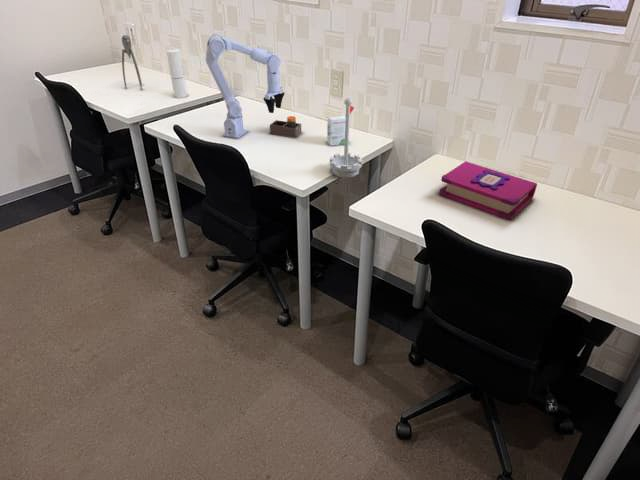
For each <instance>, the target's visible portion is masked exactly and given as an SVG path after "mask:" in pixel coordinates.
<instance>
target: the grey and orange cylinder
mask: <svg viewBox="0 0 640 480" xmlns="http://www.w3.org/2000/svg"><path fill="white" fill-rule="evenodd" d="M296 119H297V117H296V116H295V115H294V116H293V115H290V116H289V115H288V116H287V118H286V122H287V127H291V128H295V127H296V123H297V120H296Z"/></svg>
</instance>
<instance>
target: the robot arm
mask: <svg viewBox="0 0 640 480" xmlns="http://www.w3.org/2000/svg"><path fill="white" fill-rule="evenodd" d="M231 50H233V51H236V52H239V53H242V54H245V55H247V56H249V58H250V60H252V61H254V62H257V63H259V64H262V65H266V80H267V82H266V83H267V91H266V93H265V95H264V97H263V101H264V103H265V104H266V107H267V111H268V113H269V114H274V111H275V108H276V109H281V107H282V103H283V100H284V99H283V98H284V96H285V92H283V88H284V87H283V86H281V80H280V78H281V76H280V65H281V60H280V57H278V55H277V54H276V53H274V52H273V51H270V50H265V49H263V48H262V47H261V46H259V45H257V46H252V47H250V46H248V45H245V44H244V43H242V42H239V41H236V40H234V39H232V38H230V37H227V36H224V35H220V34H218V33H214V34H212V35H210V36H209V38H208V40H207V42H206V50H205V63H206V65H207V67H208V69H209V71H210V73H211V75H212V77H213V80H214V82H215V83H216V85H217V87H218V89H219V91H220V94H221V95H222V97H223V100H224V102H225V105H226V106H225V107H226V109H227V113H226V119H225V120H224V122H223V128H224V134H223V137H228V138H233V139H239V138H241V137H242V136H243V135H245V134H246V133H248V130H246V129H245V128H244V118H243V110H242V107H241V105H240V101H239V100H238V99H237V98H236V97H235V95H234V93H233V92H232V90H231V88H230V85H229V83H228V81H227V79H226V76H225V74H224V73H223V70H222V68H221V66H220V64H219V59H220V56H221V55H222V54H223V53H224V52H228V51H231Z"/></svg>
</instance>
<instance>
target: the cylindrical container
mask: <svg viewBox="0 0 640 480" xmlns="http://www.w3.org/2000/svg"><path fill="white" fill-rule="evenodd" d="M166 56H167V61H168V67H169V68H168V69H169V73H170V79H171V84H172V91H173V96H174V98H177V99H180V98H186V97H187V96H188V94H187V87H186V80H185V74H184V68H183V62H182V55H181V50H180V49H167V50H166Z"/></svg>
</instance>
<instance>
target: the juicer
mask: <svg viewBox="0 0 640 480" xmlns="http://www.w3.org/2000/svg"><path fill="white" fill-rule="evenodd" d="M121 43H122V46H123V49H121V66H122V68H121V69H122V77H123V84H124V88H125V89H126V90H127V89H128V87H127V81H126V72H125V54H126V55H127V56H128V59H131V58H132V61H133V65H134V69H135V72H136V76H137V79H138V83H139V87H140V90H141V91H142V90H143V82H142V78H141V74H140V70H139V67H138V63H137V61H136V57H135V55H134V52H133V49H132V41H131V38H130V36H128V35H126V34H124V35H122V36H121Z"/></svg>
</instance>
